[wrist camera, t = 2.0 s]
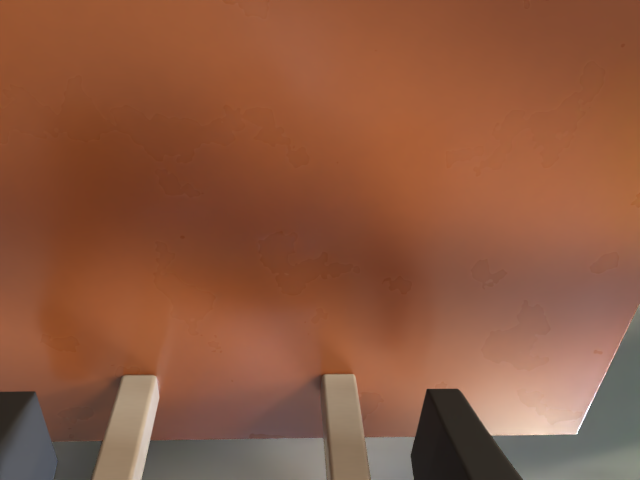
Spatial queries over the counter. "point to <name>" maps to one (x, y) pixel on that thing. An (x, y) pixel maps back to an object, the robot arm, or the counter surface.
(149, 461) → the counter surface
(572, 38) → the lid
